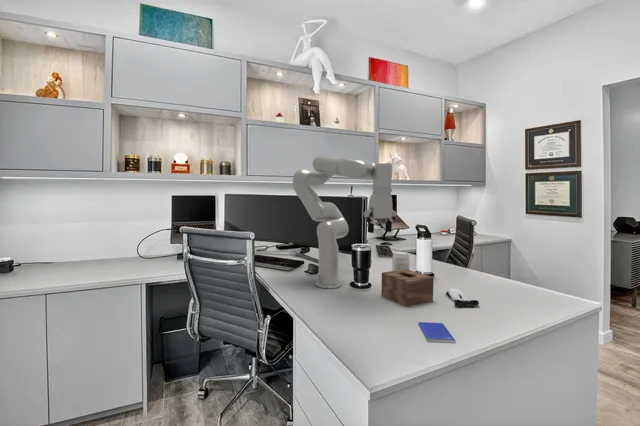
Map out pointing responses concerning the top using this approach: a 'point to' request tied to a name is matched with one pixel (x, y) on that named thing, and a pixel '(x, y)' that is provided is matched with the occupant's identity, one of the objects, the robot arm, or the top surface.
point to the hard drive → (436, 332)
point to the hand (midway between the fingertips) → (379, 232)
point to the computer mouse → (460, 299)
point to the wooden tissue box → (407, 287)
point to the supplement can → (400, 261)
